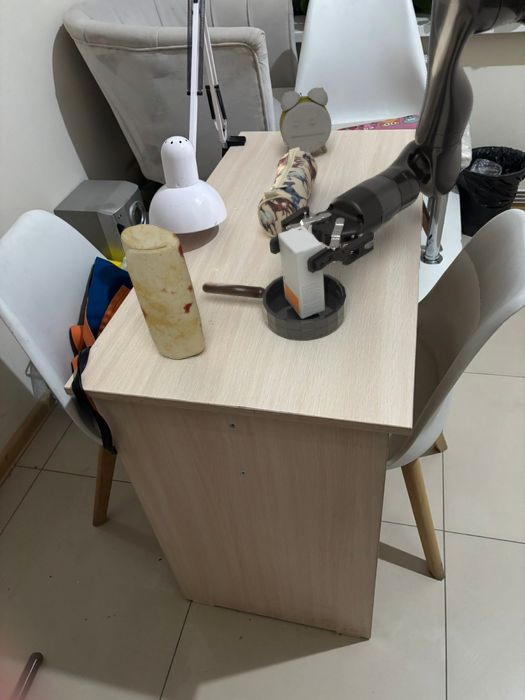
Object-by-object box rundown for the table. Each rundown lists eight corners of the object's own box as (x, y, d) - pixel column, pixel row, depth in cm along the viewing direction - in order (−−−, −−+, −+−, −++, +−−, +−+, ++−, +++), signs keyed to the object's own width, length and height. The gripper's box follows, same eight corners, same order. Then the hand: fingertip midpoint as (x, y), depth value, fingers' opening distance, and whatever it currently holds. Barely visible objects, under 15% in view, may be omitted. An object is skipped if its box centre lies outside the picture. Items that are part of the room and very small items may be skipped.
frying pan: (352, 292, 83) (352, 274, 81) (337, 345, 74) (337, 327, 72) (276, 285, 87) (274, 267, 84) (254, 335, 78) (251, 317, 76)
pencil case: (302, 241, 96) (299, 193, 89) (258, 240, 98) (252, 192, 91) (319, 187, 111) (317, 142, 104) (280, 187, 113) (276, 143, 106)
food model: (217, 341, 78) (191, 225, 64) (192, 370, 74) (158, 252, 60) (167, 325, 82) (132, 212, 68) (140, 351, 78) (98, 237, 64)
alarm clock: (328, 148, 125) (327, 82, 115) (333, 160, 120) (333, 91, 110) (281, 155, 125) (276, 89, 115) (284, 166, 120) (279, 99, 110)
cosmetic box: (284, 299, 81) (276, 233, 73) (308, 290, 82) (303, 224, 74) (301, 320, 77) (295, 253, 69) (326, 311, 78) (323, 243, 70)
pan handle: (268, 294, 81) (266, 285, 80) (264, 301, 80) (263, 292, 79) (205, 288, 84) (203, 279, 83) (201, 294, 83) (199, 285, 82)
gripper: (329, 174, 81) (252, 218, 73) (406, 199, 72) (327, 252, 65) (330, 216, 86) (258, 261, 78) (402, 245, 77) (329, 298, 70)
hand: (290, 257), depth 72 cm, fingers closed on cosmetic box, 7 cm apart
